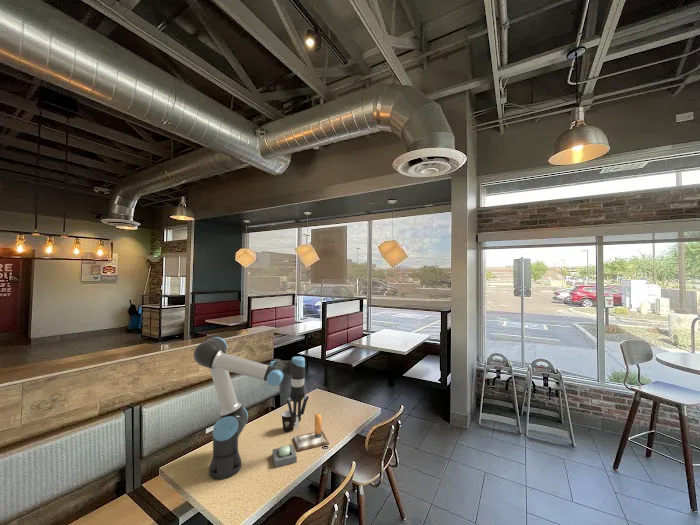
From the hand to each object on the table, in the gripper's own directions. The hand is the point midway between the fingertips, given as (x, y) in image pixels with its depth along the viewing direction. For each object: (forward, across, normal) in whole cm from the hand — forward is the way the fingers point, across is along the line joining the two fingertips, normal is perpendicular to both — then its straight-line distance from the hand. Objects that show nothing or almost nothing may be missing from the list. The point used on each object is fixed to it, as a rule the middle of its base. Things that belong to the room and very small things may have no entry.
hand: (296, 427), depth 162 cm
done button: (+10, -7, -5) cm, 14 cm away
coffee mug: (+13, +2, +22) cm, 25 cm away
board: (+12, +10, +4) cm, 16 cm away
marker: (+11, +15, +6) cm, 19 cm away
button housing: (+12, -7, -5) cm, 15 cm away
